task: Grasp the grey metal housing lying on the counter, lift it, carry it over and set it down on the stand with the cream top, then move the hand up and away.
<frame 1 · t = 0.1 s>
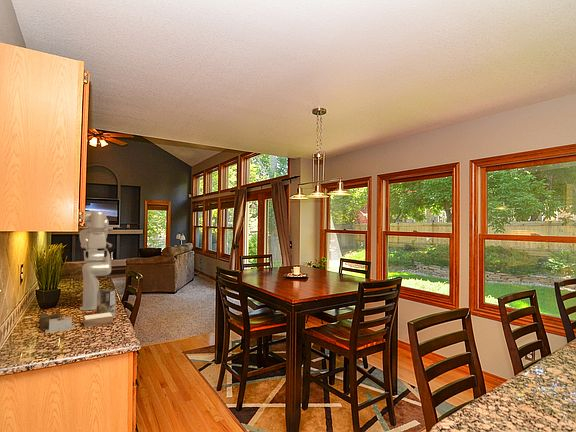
hand: (96, 257, 204), 37 cm above the countertop, tool pointing down, fingers open, 9 cm apart
coffee box: (106, 316, 203), on the countertop
housing: (60, 329, 176), on the countertop
stand: (97, 323, 188), on the countertop
kendama: (48, 324, 185), on the countertop
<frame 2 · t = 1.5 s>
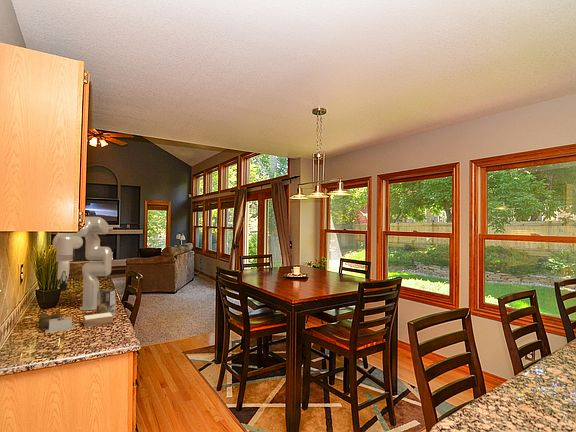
hand: (63, 289, 177), 21 cm above the countertop, tool pointing down, fingers open, 9 cm apart
nothing on the countertop moved.
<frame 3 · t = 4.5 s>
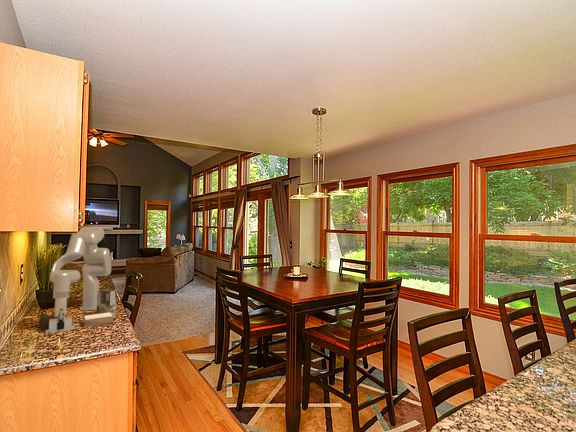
hand: (60, 327, 176), 1 cm above the countertop, tool pointing down, fingers closed on housing, 6 cm apart
housing: (60, 329, 176), on the countertop, touching gripper
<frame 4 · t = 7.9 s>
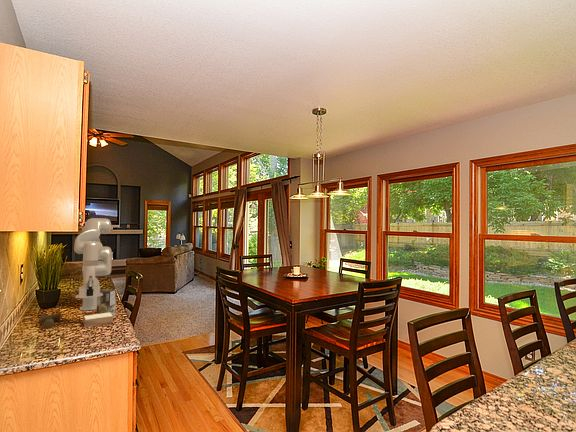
hand: (89, 294, 185), 17 cm above the countertop, tool pointing down, fingers closed on housing, 6 cm apart
housing: (89, 296, 185), point 16 cm above the countertop, touching gripper
when the fingers open (7 cm above the countertop, at t = 11.2 s): housing drops 1 cm, resting on stand.
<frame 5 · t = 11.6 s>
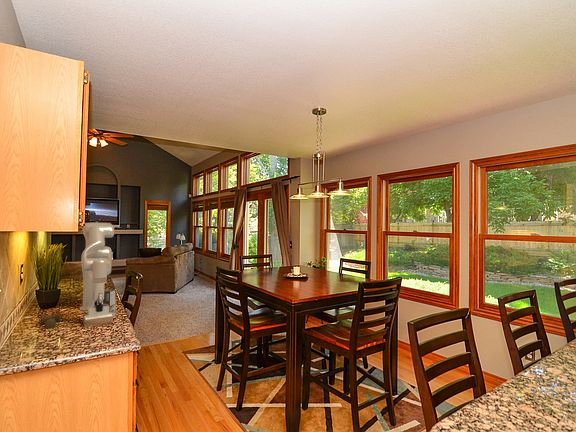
hand: (98, 310, 188), 8 cm above the countertop, tool pointing down, fingers open, 9 cm apart
housing: (98, 315, 188), point 4 cm above the countertop, touching stand
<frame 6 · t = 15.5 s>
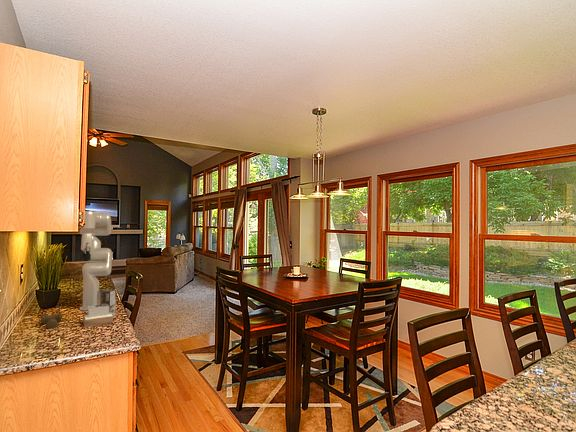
hand: (86, 259, 194), 36 cm above the countertop, tool pointing down, fingers open, 9 cm apart
at the end: housing inside the target area on the stand (0.1 cm from its centre), point 4.5 cm above the stand's base; housing tilted 0°; the gripper is holding nothing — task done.
